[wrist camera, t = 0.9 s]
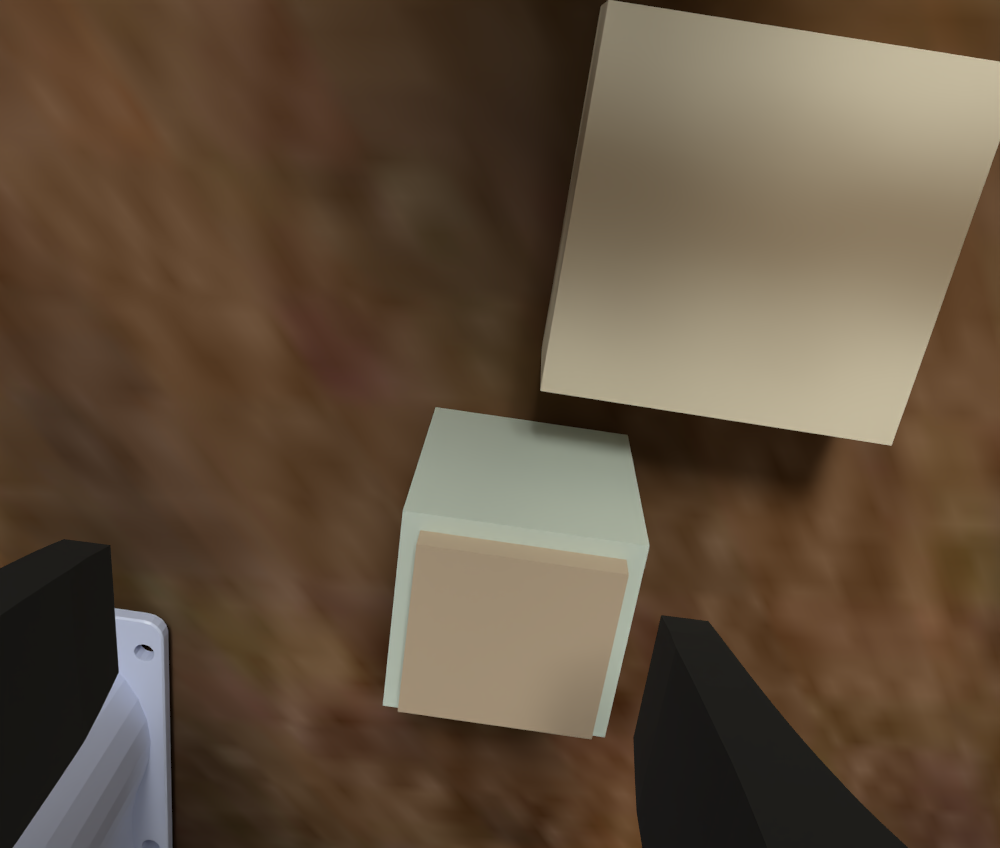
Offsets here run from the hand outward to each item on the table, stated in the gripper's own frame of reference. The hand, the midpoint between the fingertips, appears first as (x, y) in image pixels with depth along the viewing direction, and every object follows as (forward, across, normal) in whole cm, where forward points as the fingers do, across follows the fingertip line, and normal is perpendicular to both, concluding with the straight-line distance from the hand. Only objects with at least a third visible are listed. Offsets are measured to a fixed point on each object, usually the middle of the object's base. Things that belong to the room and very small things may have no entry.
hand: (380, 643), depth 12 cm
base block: (+10, -6, -5) cm, 12 cm away
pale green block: (+10, -2, +3) cm, 10 cm away
